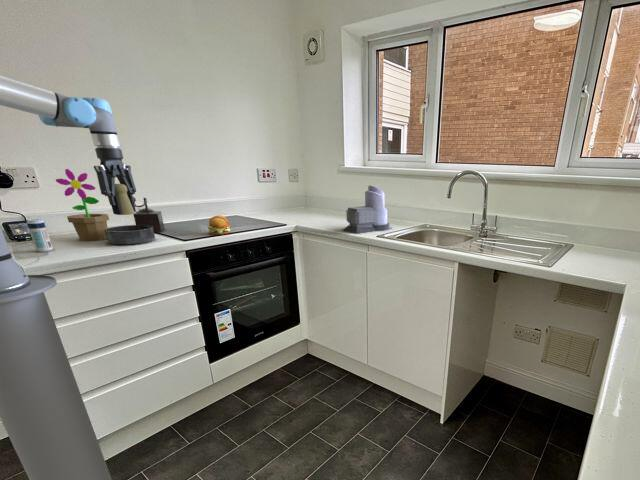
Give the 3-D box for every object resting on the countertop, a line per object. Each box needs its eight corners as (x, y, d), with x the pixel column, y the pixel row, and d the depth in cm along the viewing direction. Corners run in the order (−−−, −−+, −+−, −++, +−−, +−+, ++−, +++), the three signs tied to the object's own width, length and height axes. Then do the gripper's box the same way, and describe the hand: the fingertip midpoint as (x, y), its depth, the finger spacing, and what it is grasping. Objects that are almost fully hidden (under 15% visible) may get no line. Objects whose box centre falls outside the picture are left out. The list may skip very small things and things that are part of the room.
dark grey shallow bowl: (135, 246, 148) (132, 232, 146) (97, 244, 149) (93, 230, 147) (164, 238, 164) (161, 225, 162) (129, 237, 165) (126, 224, 163)
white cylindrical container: (51, 248, 140) (41, 218, 136) (55, 250, 138) (44, 220, 133) (35, 250, 137) (24, 219, 132) (38, 252, 134) (27, 221, 130)
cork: (121, 212, 137) (114, 183, 133) (138, 212, 138) (130, 183, 134) (111, 214, 132) (103, 184, 127) (128, 215, 132) (120, 184, 128)
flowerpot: (69, 242, 151) (45, 168, 140) (79, 236, 162) (58, 167, 151) (110, 240, 157) (91, 169, 146) (117, 234, 169) (99, 168, 158)
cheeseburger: (226, 230, 186) (225, 212, 181) (234, 238, 181) (233, 220, 176) (205, 232, 180) (204, 213, 175) (213, 240, 174) (212, 221, 169)
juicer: (377, 224, 220) (377, 184, 211) (396, 228, 210) (397, 185, 202) (340, 230, 199) (339, 185, 190) (359, 234, 189) (358, 187, 180)
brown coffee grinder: (140, 229, 182) (131, 193, 175) (165, 228, 186) (157, 193, 180) (132, 235, 169) (123, 196, 162) (159, 234, 173) (151, 196, 167)
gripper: (119, 148, 135) (135, 209, 144) (73, 146, 117) (94, 216, 126) (138, 148, 134) (152, 210, 143) (93, 146, 117) (113, 216, 126)
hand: (125, 212), depth 135 cm, fingers closed on cork, 6 cm apart
